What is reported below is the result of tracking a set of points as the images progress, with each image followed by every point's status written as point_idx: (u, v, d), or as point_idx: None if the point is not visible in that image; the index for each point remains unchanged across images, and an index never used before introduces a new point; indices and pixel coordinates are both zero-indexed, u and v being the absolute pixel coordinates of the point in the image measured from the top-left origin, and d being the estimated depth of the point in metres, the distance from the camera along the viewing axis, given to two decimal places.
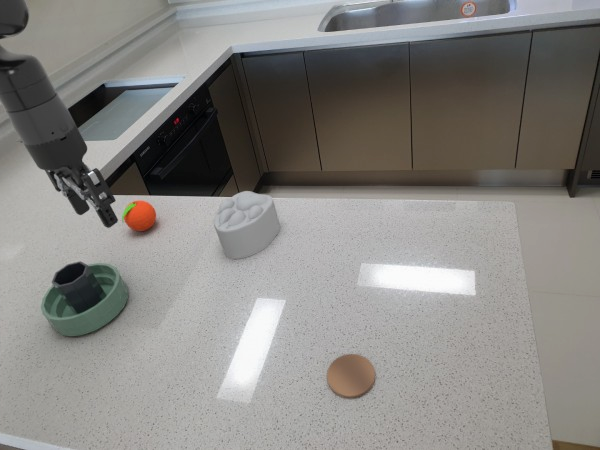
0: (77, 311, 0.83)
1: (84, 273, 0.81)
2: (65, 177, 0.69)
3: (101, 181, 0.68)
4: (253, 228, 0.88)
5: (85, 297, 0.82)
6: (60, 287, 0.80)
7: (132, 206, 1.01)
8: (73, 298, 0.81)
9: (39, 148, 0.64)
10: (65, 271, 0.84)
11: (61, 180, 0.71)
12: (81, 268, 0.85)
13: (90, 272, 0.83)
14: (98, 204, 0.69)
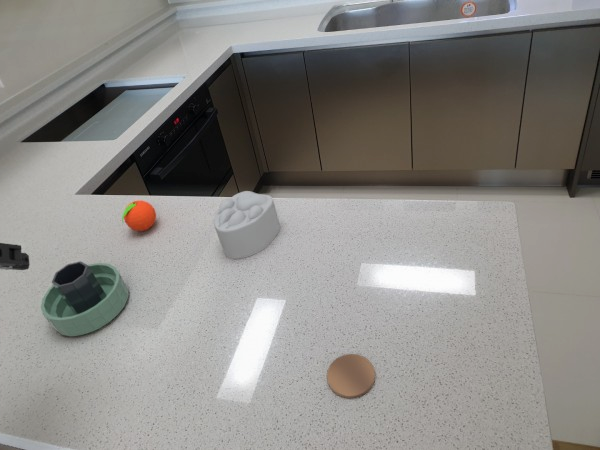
0: (77, 311, 0.83)
1: (84, 273, 0.81)
2: None
3: None
4: (253, 228, 0.88)
5: (85, 297, 0.82)
6: (60, 287, 0.80)
7: (132, 206, 1.01)
8: (73, 298, 0.81)
9: None
10: (65, 271, 0.84)
11: None
12: (81, 268, 0.85)
13: (90, 272, 0.83)
14: (14, 265, 0.56)
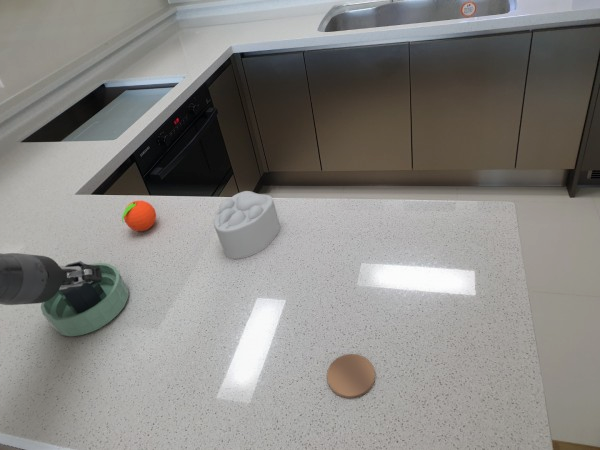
0: (77, 311, 0.83)
1: None
2: None
3: (92, 268, 0.77)
4: (253, 228, 0.88)
5: (85, 297, 0.82)
6: None
7: (132, 206, 1.01)
8: (73, 298, 0.81)
9: (41, 296, 0.69)
10: None
11: None
12: None
13: None
14: (96, 280, 0.79)
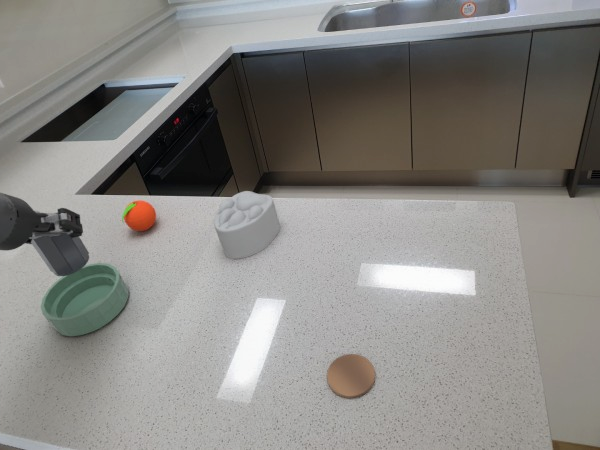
0: (55, 268, 0.74)
1: None
2: (32, 235, 0.66)
3: (70, 213, 0.68)
4: (253, 228, 0.88)
5: (63, 251, 0.73)
6: None
7: (132, 206, 1.01)
8: (50, 252, 0.72)
9: (9, 239, 0.60)
10: None
11: None
12: None
13: None
14: (76, 230, 0.70)
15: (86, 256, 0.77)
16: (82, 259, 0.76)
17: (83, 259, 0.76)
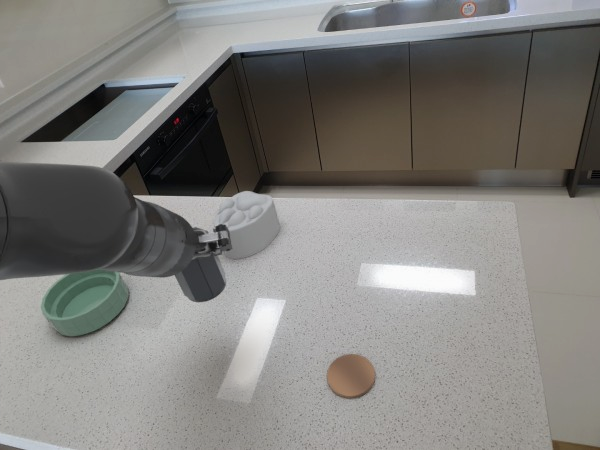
0: (194, 293, 0.63)
1: None
2: None
3: (227, 230, 0.56)
4: (253, 228, 0.88)
5: (206, 273, 0.61)
6: None
7: None
8: (192, 275, 0.61)
9: (176, 265, 0.48)
10: None
11: None
12: None
13: None
14: (227, 249, 0.59)
15: (224, 278, 0.66)
16: (222, 282, 0.64)
17: (223, 282, 0.65)
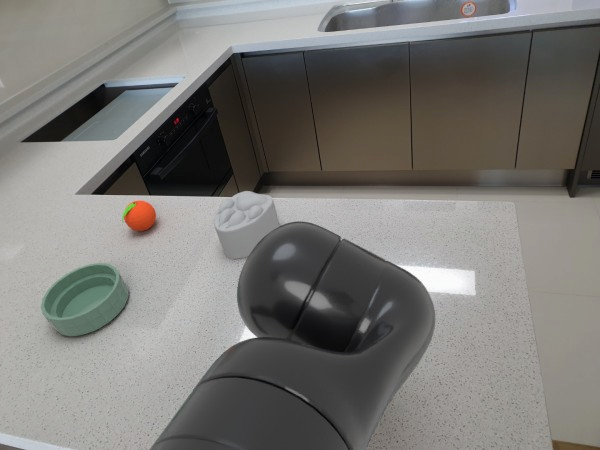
0: None
1: None
2: None
3: None
4: (253, 228, 0.88)
5: None
6: None
7: (132, 206, 1.01)
8: None
9: None
10: None
11: None
12: None
13: None
14: None
15: None
16: None
17: None
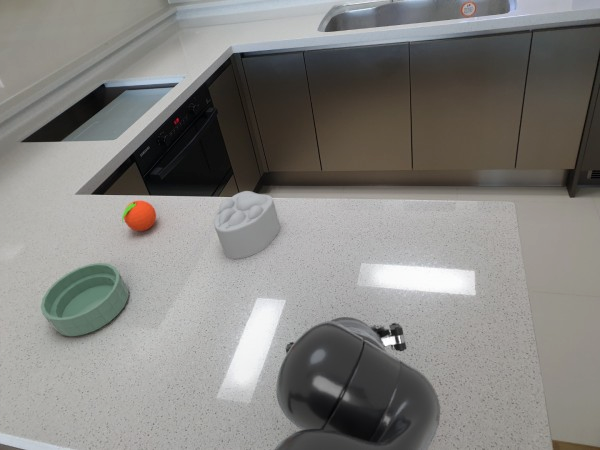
0: None
1: None
2: None
3: None
4: (253, 228, 0.88)
5: None
6: None
7: (132, 206, 1.01)
8: None
9: None
10: None
11: None
12: None
13: None
14: None
15: None
16: None
17: None
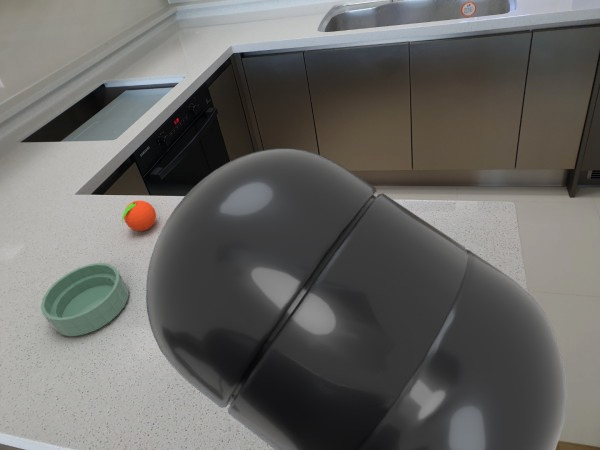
0: None
1: None
2: None
3: None
4: None
5: None
6: None
7: (132, 206, 1.01)
8: None
9: None
10: None
11: None
12: None
13: None
14: None
15: None
16: None
17: None
